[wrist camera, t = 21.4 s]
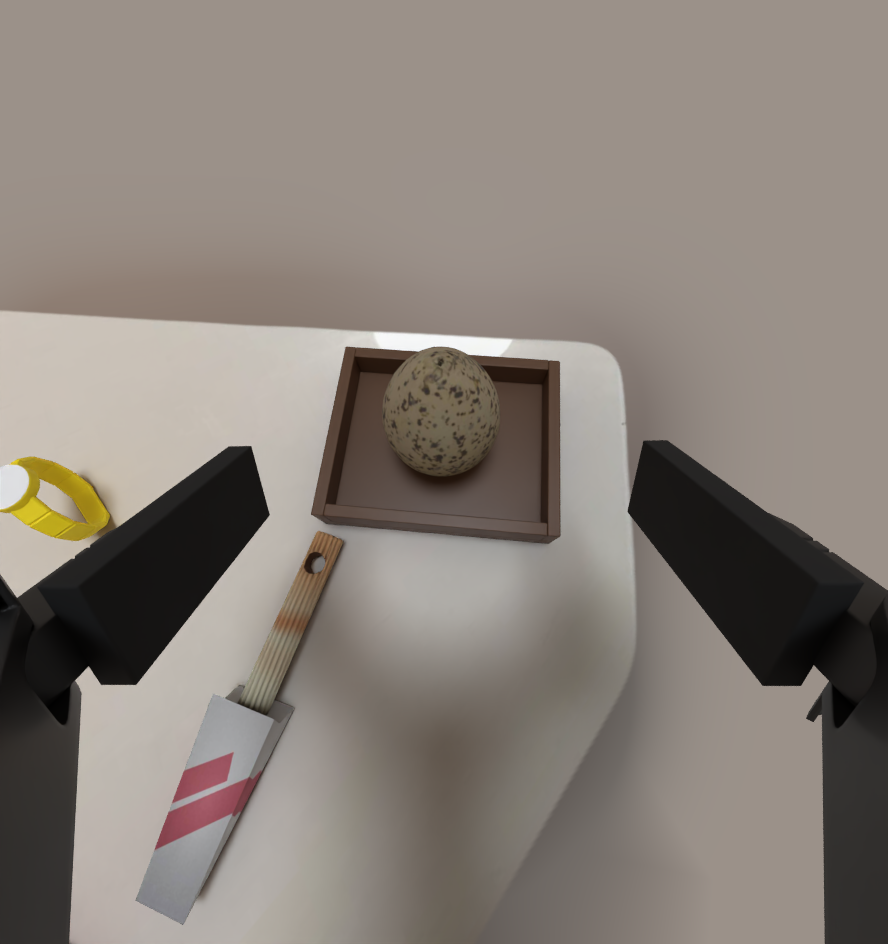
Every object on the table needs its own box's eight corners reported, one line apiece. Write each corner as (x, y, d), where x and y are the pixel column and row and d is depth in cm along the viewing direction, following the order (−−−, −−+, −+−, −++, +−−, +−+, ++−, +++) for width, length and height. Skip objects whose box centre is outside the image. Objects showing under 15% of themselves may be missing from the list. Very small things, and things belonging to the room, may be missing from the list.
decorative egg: (501, 410, 28) (525, 314, 19) (482, 501, 26) (499, 445, 16) (407, 392, 29) (385, 290, 19) (382, 480, 27) (343, 414, 17)
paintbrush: (100, 916, 18) (299, 522, 24) (144, 879, 20) (313, 531, 27) (170, 956, 17) (353, 542, 24) (206, 912, 20) (362, 549, 26)
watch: (60, 489, 28) (-40, 462, 22) (95, 466, 28) (6, 433, 23) (93, 552, 26) (-4, 540, 21) (130, 526, 27) (44, 507, 21)
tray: (549, 383, 30) (560, 360, 27) (548, 543, 26) (560, 536, 23) (355, 369, 31) (345, 346, 28) (325, 523, 27) (310, 514, 24)
